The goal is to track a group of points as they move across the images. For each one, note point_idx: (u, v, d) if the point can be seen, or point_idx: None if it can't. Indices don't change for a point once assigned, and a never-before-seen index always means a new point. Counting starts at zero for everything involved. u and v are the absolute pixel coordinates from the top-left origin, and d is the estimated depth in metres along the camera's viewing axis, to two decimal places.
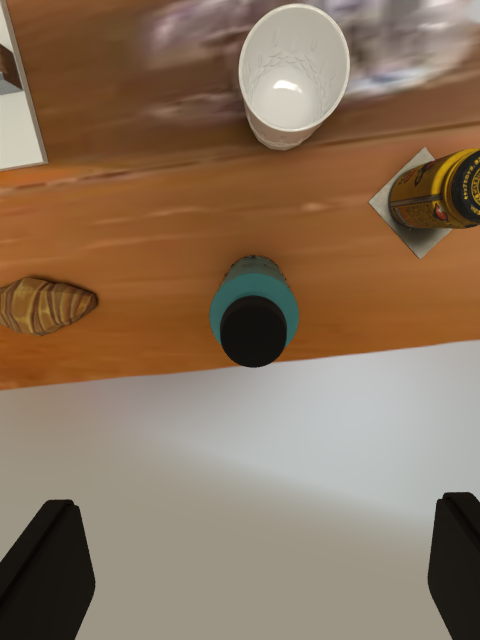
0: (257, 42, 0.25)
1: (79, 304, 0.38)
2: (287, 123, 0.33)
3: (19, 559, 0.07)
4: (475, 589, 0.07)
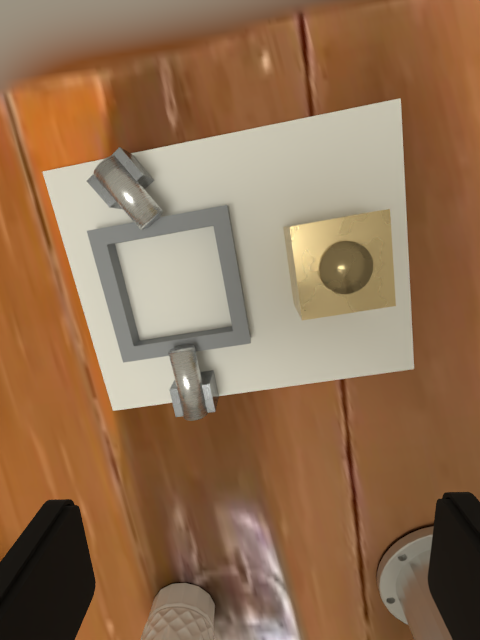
0: None
1: None
2: None
3: (19, 559, 0.07)
4: (475, 589, 0.07)
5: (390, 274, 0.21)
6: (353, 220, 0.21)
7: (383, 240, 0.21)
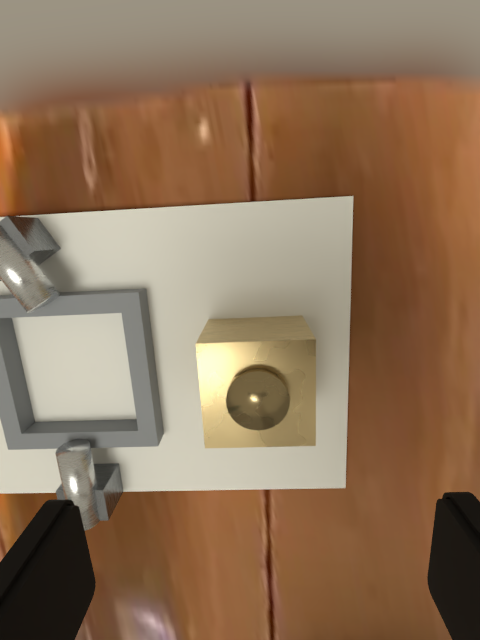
0: None
1: None
2: None
3: (19, 559, 0.07)
4: (475, 589, 0.07)
5: (311, 411, 0.18)
6: (272, 346, 0.17)
7: (306, 373, 0.17)
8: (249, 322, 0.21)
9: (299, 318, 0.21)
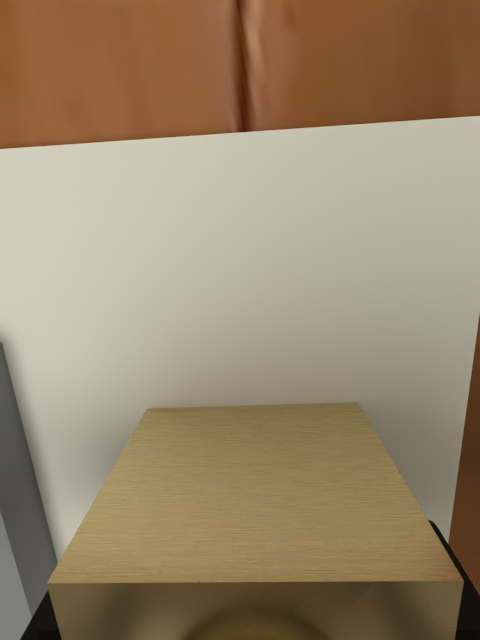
0: None
1: None
2: None
3: None
4: None
5: None
6: (307, 596, 0.05)
7: None
8: (237, 430, 0.09)
9: (356, 415, 0.09)
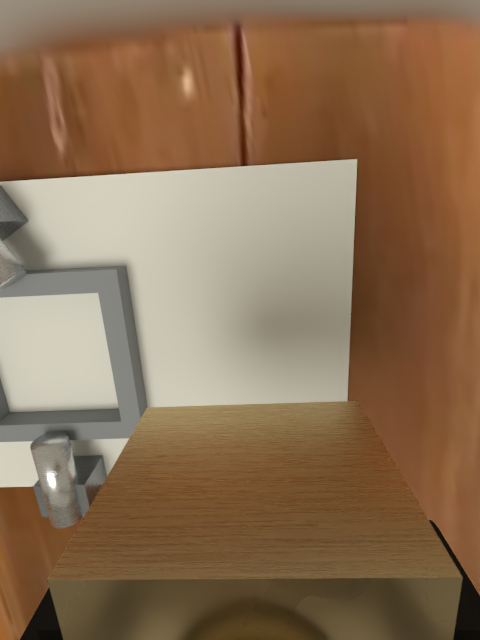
0: None
1: None
2: None
3: None
4: None
5: None
6: (307, 593, 0.05)
7: None
8: (237, 429, 0.09)
9: (355, 413, 0.09)
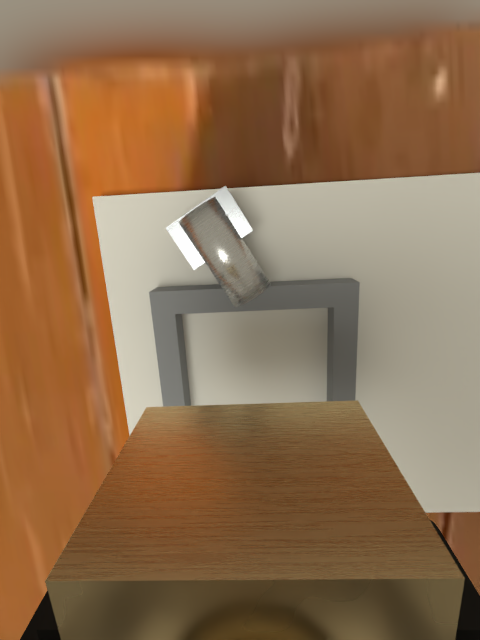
0: None
1: None
2: None
3: None
4: None
5: None
6: (308, 594, 0.05)
7: None
8: (237, 428, 0.09)
9: (356, 413, 0.09)
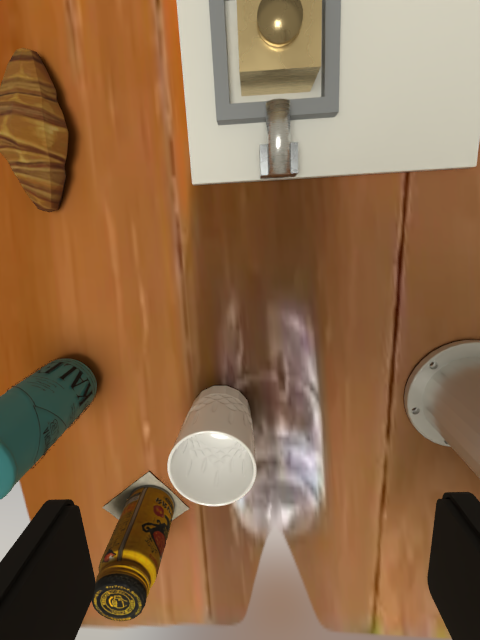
0: None
1: (38, 197, 0.32)
2: None
3: (19, 559, 0.07)
4: (475, 589, 0.07)
5: (318, 33, 0.25)
6: None
7: None
8: None
9: None
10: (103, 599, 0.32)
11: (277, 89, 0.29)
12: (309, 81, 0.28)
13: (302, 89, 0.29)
